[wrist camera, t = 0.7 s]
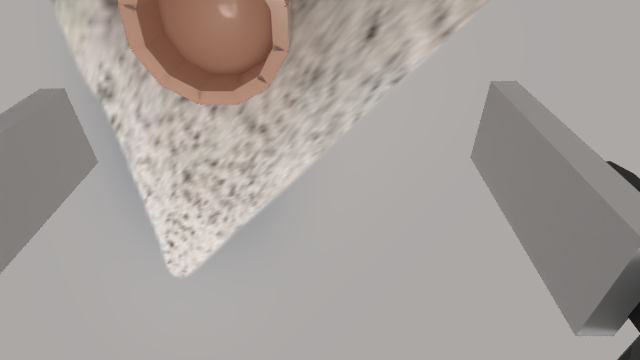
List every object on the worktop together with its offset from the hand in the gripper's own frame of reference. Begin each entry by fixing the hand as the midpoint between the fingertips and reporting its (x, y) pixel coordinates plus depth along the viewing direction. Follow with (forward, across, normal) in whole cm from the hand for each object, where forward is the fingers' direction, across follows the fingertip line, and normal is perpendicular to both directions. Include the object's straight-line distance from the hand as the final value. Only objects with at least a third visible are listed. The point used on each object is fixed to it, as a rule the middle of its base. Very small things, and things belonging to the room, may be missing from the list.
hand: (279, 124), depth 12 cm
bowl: (+24, -8, -2) cm, 25 cm away
